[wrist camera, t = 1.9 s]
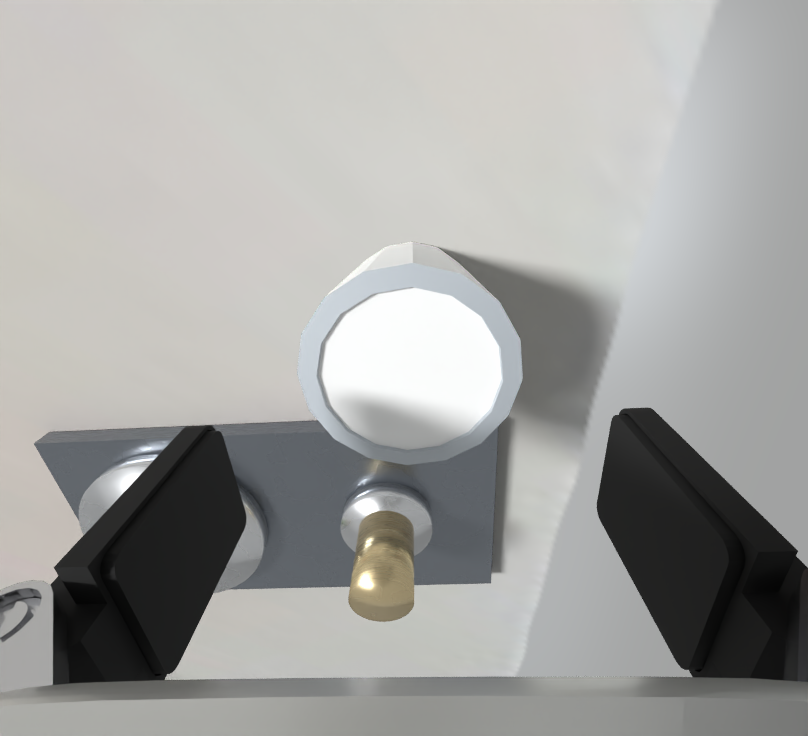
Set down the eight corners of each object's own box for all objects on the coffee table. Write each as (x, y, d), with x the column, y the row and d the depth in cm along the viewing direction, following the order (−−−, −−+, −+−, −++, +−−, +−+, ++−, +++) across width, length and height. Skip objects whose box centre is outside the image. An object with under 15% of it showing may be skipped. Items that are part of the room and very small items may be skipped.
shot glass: (504, 345, 19) (548, 433, 13) (371, 390, 21) (353, 489, 14) (459, 199, 16) (488, 223, 10) (308, 261, 18) (252, 316, 11)
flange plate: (49, 432, 22) (-67, 518, 17) (494, 413, 21) (522, 499, 16) (130, 577, 28) (61, 678, 22) (488, 569, 26) (507, 672, 21)
